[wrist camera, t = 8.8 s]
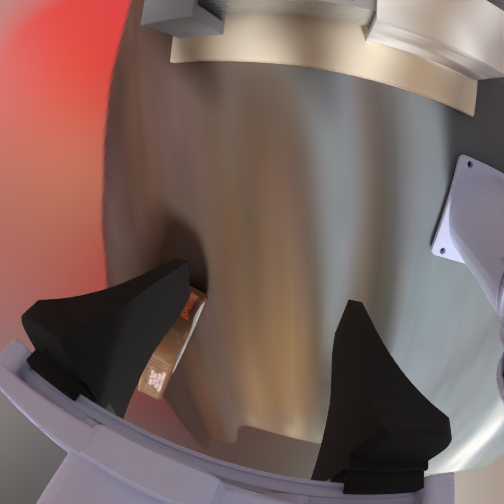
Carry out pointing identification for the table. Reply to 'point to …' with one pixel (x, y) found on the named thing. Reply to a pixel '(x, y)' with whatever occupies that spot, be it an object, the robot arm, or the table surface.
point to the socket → (181, 18)
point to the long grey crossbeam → (299, 8)
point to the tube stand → (373, 46)
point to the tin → (172, 347)
